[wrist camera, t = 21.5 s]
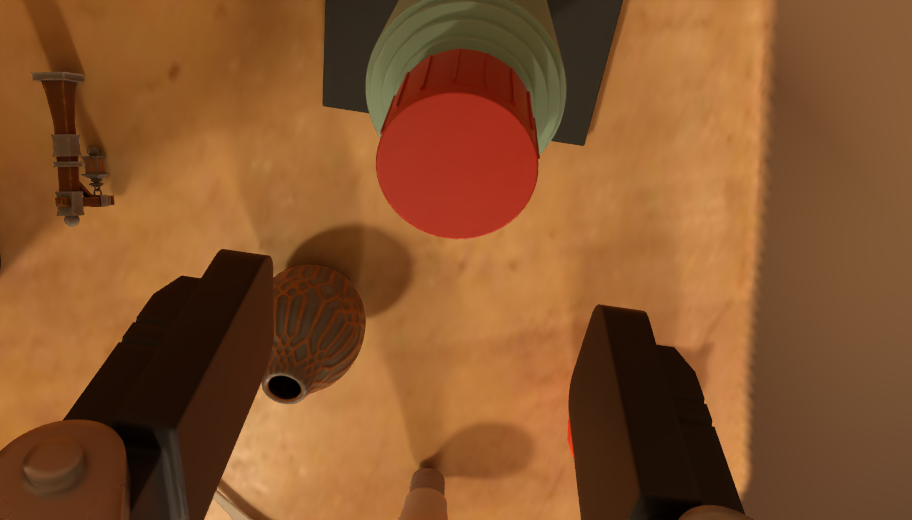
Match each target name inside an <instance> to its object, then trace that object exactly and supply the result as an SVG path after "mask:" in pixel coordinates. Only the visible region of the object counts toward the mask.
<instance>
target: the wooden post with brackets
mask: <svg viewBox="0 0 912 520" xmlns="http://www.w3.org/2000/svg"><path fill="white" fill-rule="evenodd" d="M31 74H32V76H33V80H34V81H41V82H42V85H43V87H44V90H45V93H46V96H47V100H48V104H49V107H50V111H51V115H52V119H53V124H54V131H55V135H51V136H52V139H53V149H54V152H53V157H57V162H53V163H54V167H58V180H59V192H55V193H56V196H57V197H56V198H55V201H56V207H57V210H58V211H57V216H65V218H64V221H65V223H66V224H67V225H68V226H72V227H73V226H76V225H78V223H79V217H78V216H77V215H85V214H84V211H83V207H85V206H90V207H104V206H109V205H114V196H108V195H102V192H101V190H100V186H102V185H103V184H104V183H99V182H100V181H103V180H101V179H102V178H103V177H105V176H108V175H110V173H106V172H105V157H106V156H98V155H99V153H100V151H99V149H98V147H96V146H90V147H88V149H87V153H88V155H89V156H82V155H81V152H80V145H79V137H80V135H76V127H75V94H76V86H77V83H85V82H84V77H85V75H80V74H74V73H68V72H38V73H31ZM78 156H81V158H82V159H83V161H84V166H85V174H81V175H82V176H84V177H87V178H90V179H92V180H91V181H92V182H94V183H91V184H89V185H91V186H93V187H94V189H95V190H94V195H93V194H91V193H90V192H89V191H88V190H87V189H86V188H85V186H84V185H83V184H82V183H81V182H80V181H79V167H82V161H78ZM96 187H98V188H97V189H96ZM95 191H100V195H95ZM83 196H84V197H83Z"/></svg>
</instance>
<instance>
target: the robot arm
mask: <svg viewBox="0 0 912 520" xmlns="http://www.w3.org/2000/svg"><path fill="white" fill-rule="evenodd" d="M0 267H1V257H0ZM273 338H274V298H273V263H272V259H271V257H270V256H267V255H260V254H253V253H247V252H240V251H233V250H226V249H222V250H220V251H219V252H218V253H217V254H216V256H215V257H214V259H213V261H212V262H211V264H210V265H209V267H208V268H207V270H206V272H205V273H204V275H203V276H202V278H194V277H187V276H180V277H179V278H177V279H176V280H174V281H173V282H171V283H170V284H168V285H167V286H165V287H164V288H162V289H160V290H159V291H157V292H156V293H154V294H153V295H152V297H151V298H150V300H149V301H148V302H147V304H146V305H145V307H144V308H143V309H142V311H141V312H140V314H139V315H138V316H137V320H136V323H134V322H133V323H132V325H131V326H130V328H129V329H128V330H127V332H126V333H125V334H124V336H123V339H122V342H121V343H120V342H119V343H118V344H117V346H116V347H115V348H114V350H113V351H112V353H111V354H110V355H109V357H108V358H107V360H106V361H105V362H104V364H103V365H102V367H101V368H100V369H99V371H98V372H97V374H96V375H95V376H94V378H93V379H92V381H91V382H90V383H89V385H88V386H87V387H86V389H85V390H84V392H83V393H82V394H81V396H80V397H79V399H78V400H77V401H76V403H75V404H74V406H73V407H72V408H71V410H70V411H69V413H68V414H67V415H66V417H65V418H64V419H63V420H62V421H58V422H53V423H50V424H46V425H43V426H40V427H38V428H35V429H33V430H30V431H28V432H27V433H25V434H23V435H21V436H19V437H18V438H16V439H15V440H13V441H12V442H10V443H9V444H8V445H7V446H6V447H4V448H3V449H2V450H1V451H0V520H204V518H205V516H206V513H207V511H208V509H209V506H210V504H211V501H212V499H213V497H214V494H215V492H216V489H217V487H218V485H219V482H220V480H221V477H222V475H223V473H224V470H225V468H226V465H227V463H228V461H229V458H230V456H231V453H232V451H233V449H234V446H235V444H236V441H237V439H238V437H239V434H240V432H241V429H242V427H243V425H244V422H245V420H246V417H247V415H248V413H249V410H250V408H251V406H252V403H253V401H254V398H255V396H256V394H257V391H258V389H259V386H260V384H261V382H262V379H263V377H264V374H265V372H266V369H267V367H268V364H269V360H270V356H271V352H272V346H273ZM704 399H705V398H704V396H703V393H702V390H701V387H700V384H699V381H698V378H697V376H696V373H695V371H694V370H693V369H692V368H691V367H690V365H689V364H688V363H687V362H686V361H685V359H684V358H683V357H682V356H681V355H680V354H679V352H678V351H677V350H676V349H675V348H674V347H668V346H661V345H656V342H655V338H654V335H653V332H652V328H651V325H650V321H649V318H648V315H647V314H646V312H645V311H640V310H634V309H627V308H620V307H613V306H606V305H597V306H596V307H595V309H594V311H593V313H592V316H591V319H590V322H589V325H588V328H587V331H586V334H585V337H584V340H583V343H582V346H581V350H580V353H579V356H578V359H577V362H576V365H575V368H574V371H573V375H572V379H571V384H570V390H569V418H570V427H571V436H572V444H573V453H574V461H575V470H576V479H577V487H578V496H579V505H580V513H581V520H753V519H751V518H750V517H748V516H746V515H745V513H744V510H743V507H742V504H741V501H740V499H739V496H738V493H737V490H736V487H735V484H734V481H733V478H732V476H731V473H730V470H729V467H728V464H727V461H726V458H725V456H724V453H723V450H722V447H721V444H720V441H719V438H718V436H717V433H716V430H715V427H712V418H711V416H710V413H709V410H708V407H707V404H704Z"/></svg>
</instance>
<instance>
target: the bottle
mask: <svg viewBox="0 0 912 520" xmlns="http://www.w3.org/2000/svg"><path fill="white" fill-rule="evenodd" d="M457 48H460V49H469V50H476V51H481V52H484V53H489V54H490V55H492V56H494V57H496V58H498V59H500V60H501V61H503V62H504V63H505V64H507V65H508V66H509V67H510V68H513V69H514V71H515V73H516V74H517V75H518V76H519V78H520V79H521V80H522V82H523V84H524V85H525V87H526V89H527V91H530V96H531V104H532V112H533V118H535V121H536V129H537V138H538V146H539V154H541V153H542V152H543V151H544V149H545V148H546V147H547V146H548V145H549V143H550V141H551V140H552V138H553V137H554V135H555V133H556V131H557V129H558V127H559V125H560V122H561V119H562V116H563V113H564V108H565V102H566V88H567V85H566V75H565V70H564V66H563V61H562V57H561V54H560V50H559V46H558V42H557V38H556V34H555V30H554V26H553V23H552V19H551V15H550V11H549V7H548V3H547V0H399V1H398V3H397V5H396V7H395V8H394V10H393V12H392V14H391V16H390V18H389V20H388V22H387V23H386V25H385V27H384V29H383V31H382V33H381V35H380V37H379V39H378V40H377V42H376V45H375V47H374V49H373V51H372V54H371V57H370V60H369V64H368V67H367V74H366V99H367V106H368V110H369V114H370V117H371V120H372V122H373V125H374V127H375V129H376V131H377V133H378V135H379V136H380V138H381V136H382V135H381V134H380V131H381V128H382V126H383V123H384V120H385V118H386V115H387V112H388V109H389V107H390V104H391V101H392V99H393V96H394V95H395V96H396V94H397V92H398V89H399V87H400V85H401V83H402V82H403V80H404V78H405V75H406V73H407V72H410V71H411V70H412V69H413V68H414V67H415V66H416V65H418V64H419V63H420V62H422V61H423V60H425V59H426V58H428V56H429V55H434V54H437V53H440V52H443V51H448V50H453V49H457Z"/></svg>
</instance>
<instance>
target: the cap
mask: <svg viewBox="0 0 912 520" xmlns="http://www.w3.org/2000/svg"><path fill="white" fill-rule="evenodd" d="M380 134H381V135H382V136H381V139H380V142H379V145H378V149H377V155H376V171H377V177H378V181H379V185H380V187H381V190H382V192H383V194H384V196H385V198H386V199H387V201H388V203H389V204H390V205H391V207H392V208H393V209H394V211H395V212H396V213H397V214H398V215H399V216H400V217H401V218H403V219H404V220H405V221H406V222H408V223H409V224H411V225H412V226H414V227H416V228H417V229H419V230H421V231H424V232H426V233H428V234H431V235H435V236H438V237H443V238H451V239H468V238H475V237H479V236H483V235H487V234H489V233H492V232H494V231H496V230H498V229H500V228H502V227H504V226H505V225H507V224H508V223H510V222H511V221H512V220H513V219H514V218H515V217H517V216H518V215H519V213H520V212H521V211H522V210H523V209H524V208H525V206H526V205H527V203H528V202H529V200H530V198H531V196H532V194H533V192H534V189H535V186H536V182H537V176H538V159H540V154H539V146H538V138H537V129H536V121H535V118H533V112H532V104H531V96H530V91H527V89H526V87H525V85H524V84H523V82H522V80H521V79H520V78H519V76H518V75H517V74H516V73H515V71H514V69H513V68H510V67H509V66H508V65H507V64H505V63H504V62H503V61H501V60H500V59H498V58H496V57H494V56H492V55H490V54H489V53H484V52H481V51H476V50H469V49H460V48H457V49H453V50H448V51H443V52H440V53H437V54H434V55H429V56H428V58H426V59H425V60H423V61H422V62H420V63H419V64H418V65H416V66H415V67H414V68H413V69H412V70H411V71H410V72H407V73H406V75H405V78H404V80H403V82H402V83H401V85H400V87H399V89H398V92H397V94H396V96H395V95H394V96H393V99H392V101H391V104H390V107H389V109H388V112H387V115H386V118H385V120H384V123H383V126H382V128H381V131H380Z"/></svg>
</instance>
